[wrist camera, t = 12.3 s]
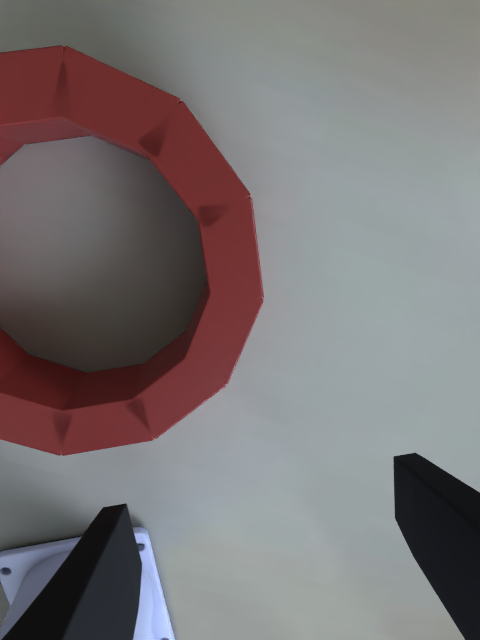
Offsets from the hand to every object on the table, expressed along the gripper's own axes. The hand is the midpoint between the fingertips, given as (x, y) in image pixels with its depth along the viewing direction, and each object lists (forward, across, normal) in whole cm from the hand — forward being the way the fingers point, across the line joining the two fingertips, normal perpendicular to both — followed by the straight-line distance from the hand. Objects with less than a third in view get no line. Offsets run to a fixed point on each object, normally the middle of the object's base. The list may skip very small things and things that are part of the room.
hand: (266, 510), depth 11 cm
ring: (+9, +6, -6) cm, 13 cm away
